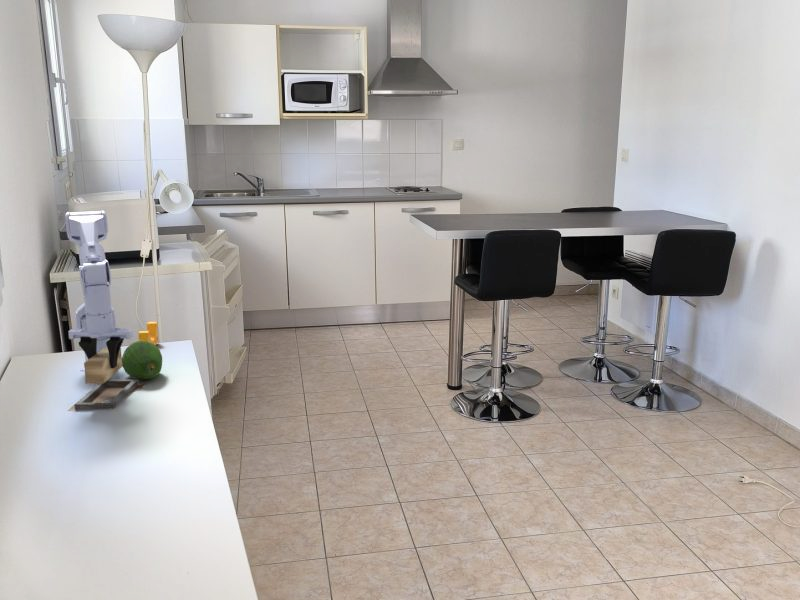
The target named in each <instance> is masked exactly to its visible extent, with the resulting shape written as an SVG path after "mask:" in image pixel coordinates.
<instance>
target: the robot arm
mask: <svg viewBox="0 0 800 600" xmlns="http://www.w3.org/2000/svg"><path fill="white" fill-rule="evenodd" d="M64 219H65V227H66V228H65V229H66V235H67V239H68V240H69V242H71V243H75V244H76V245H77V246H78V248H79V249H78V256H79V257H78V258H79V266H78V269H79V270H78V271H79V280H80V285H81V288H82V294H83V298H84V299H83V300H84V302H83V303H82V304H81V305H80V306H79V307H77V308H76V310H75V322H76V323H75V325H76V328H71V329H70V330H68V339H69V340H74V339H80V340H79V341H78V346H79V347H80V348H81V350H82V351H83V352H84V359H85V360H84V361H85V362H86V361H87V360H89V359H90V358H91V357H93V356H94V355H95V354H97V353H98V352H99V351H101V350H102V349H103V348H108V352H109V357H110V367H111V368H115V367H116V366H117V359H118V354H119V350H120V348H121V349H122V344H123V343H124V340H131V339H132V338H133V337H134V331H133V328H120V327H117V323H116V315H115V310H114V307H113V305H112V300H111V287H110V286H111V285H112V284H111V283H112V274H111V267H110V264H109V261H108V259H106V253H105V249H104V247H103V246H102V245H101V244H100V243H99V242H103V241H105V240H107V235H108V233H109V227H108V226H109V225H108V218H107V213H106V211H104V210H100V211H99V210H96V211H78V212H77V211H74V212H72V211H71V212H70V211H67V212H66V213H65V214H64ZM80 372H85V368H84V367H82V368H80Z"/></svg>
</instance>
